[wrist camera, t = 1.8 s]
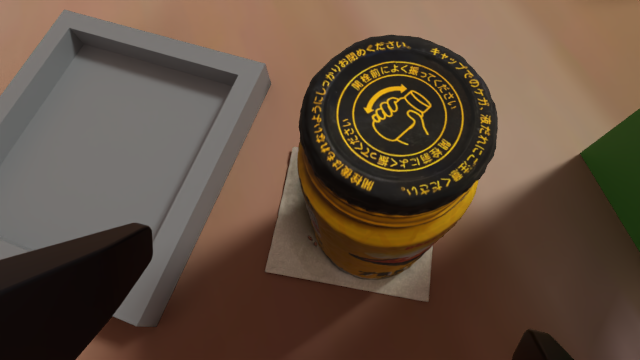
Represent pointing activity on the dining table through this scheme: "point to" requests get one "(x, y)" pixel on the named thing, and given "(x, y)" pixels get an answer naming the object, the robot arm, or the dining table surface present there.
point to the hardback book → (619, 171)
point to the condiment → (382, 165)
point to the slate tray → (121, 144)
